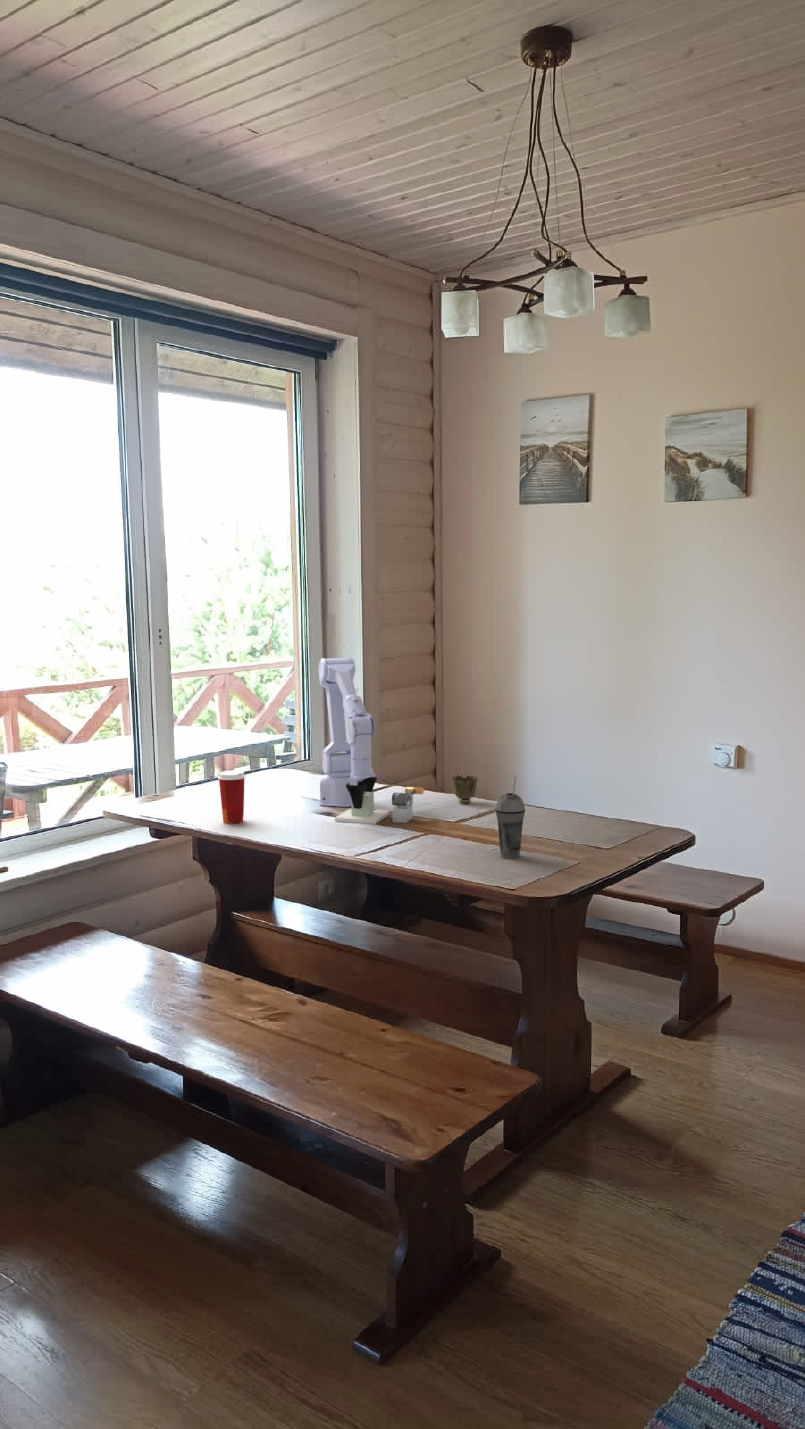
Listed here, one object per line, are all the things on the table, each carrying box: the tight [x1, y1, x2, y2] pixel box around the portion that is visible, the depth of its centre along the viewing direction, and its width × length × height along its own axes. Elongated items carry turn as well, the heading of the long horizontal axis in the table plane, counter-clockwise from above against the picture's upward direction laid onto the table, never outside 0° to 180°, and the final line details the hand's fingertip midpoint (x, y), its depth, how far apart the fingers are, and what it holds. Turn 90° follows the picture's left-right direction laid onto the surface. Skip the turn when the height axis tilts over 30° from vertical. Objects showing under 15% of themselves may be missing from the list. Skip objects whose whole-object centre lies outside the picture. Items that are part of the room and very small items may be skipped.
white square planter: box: [392, 794, 414, 824], centre depth 281 cm, size 4×6×7 cm
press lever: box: [391, 786, 425, 807], centre depth 285 cm, size 5×17×4 cm, turn 163°
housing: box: [350, 791, 375, 817], centre depth 285 cm, size 5×5×6 cm
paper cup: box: [217, 769, 246, 825], centre depth 282 cm, size 8×8×14 cm
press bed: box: [334, 807, 390, 825], centre depth 285 cm, size 12×12×1 cm
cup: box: [452, 774, 478, 805], centre depth 302 cm, size 8×7×8 cm
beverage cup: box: [494, 775, 526, 860], centre depth 243 cm, size 7×7×20 cm
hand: (362, 805), depth 285 cm, fingers open, 7 cm apart
